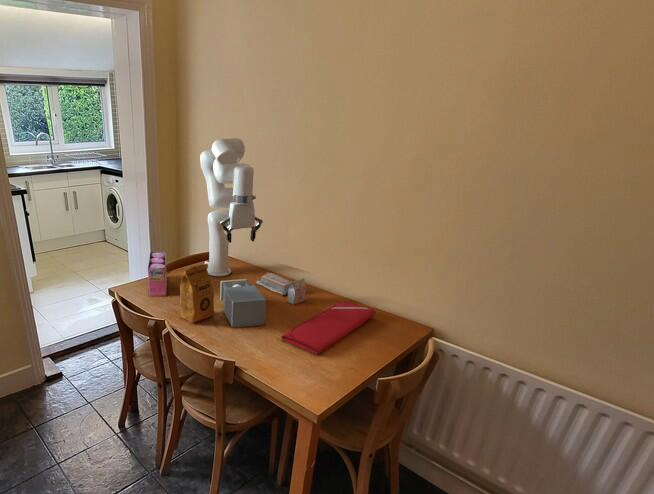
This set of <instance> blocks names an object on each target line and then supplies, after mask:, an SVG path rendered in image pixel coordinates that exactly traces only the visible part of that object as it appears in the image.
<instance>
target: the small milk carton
mask: <svg viewBox="0 0 654 494" xmlns="http://www.w3.org/2000/svg"><path fill="white" fill-rule="evenodd" d="M306 286H307V285H306V282H305V278H304V277H303V278H299V279H296V280H293V281H292V284H291V286H290V287H289V289H288V294H287V303H289V304H291V305H297V304H301V303H303V302H305V301H306V293H307V292H306V291H307V287H306Z"/></svg>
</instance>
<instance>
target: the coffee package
mask: <svg viewBox="0 0 654 494" xmlns="http://www.w3.org/2000/svg"><path fill="white" fill-rule="evenodd" d="M207 269H208V264H207V263H206V264H204V263H203V264H199V265H193V266H191V267H189V268H185V269H184V272H183V274H182V277H181V280H180V286H179V297H180V299H179V300H180V302H179V303H180V304H179V305H180V318H181V319H183V320H186V321H187V322H188V323H193V324H194V323H197V322H199V321H202V320H206V319H208V318H211V317H214V314H215V303H214V300H215V292H214V285H213V283H212V280H211V278H210V275H209V274H208V271H207Z"/></svg>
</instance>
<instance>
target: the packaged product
mask: <svg viewBox="0 0 654 494" xmlns="http://www.w3.org/2000/svg"><path fill="white" fill-rule="evenodd" d="M255 284H257V285H259V286H262V287H264V288H266V289H267V290H269V291H271V292H275V293H277V294H280V295H282V296H286V295H288V289H289V287H290V286H291V284H292V281H291V280H289V279H287V278H285V277H283V276H280V275H277V274H276V273H272V272H266V273H265V274H264V275H262V276H260V279H259V280H257V281H255Z"/></svg>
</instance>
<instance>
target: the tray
mask: <svg viewBox="0 0 654 494" xmlns="http://www.w3.org/2000/svg"><path fill="white" fill-rule="evenodd" d="M236 284H238V285H241V286H250V284H249V283H248V279H247V278H243V279H230V280H228V279H227V280H220V289H219V290H220V292H219V293H220V295H219V296H220V297H219V300H220V301H221V302H223V303H224V288H225V287H233V286H234V285H236Z"/></svg>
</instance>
